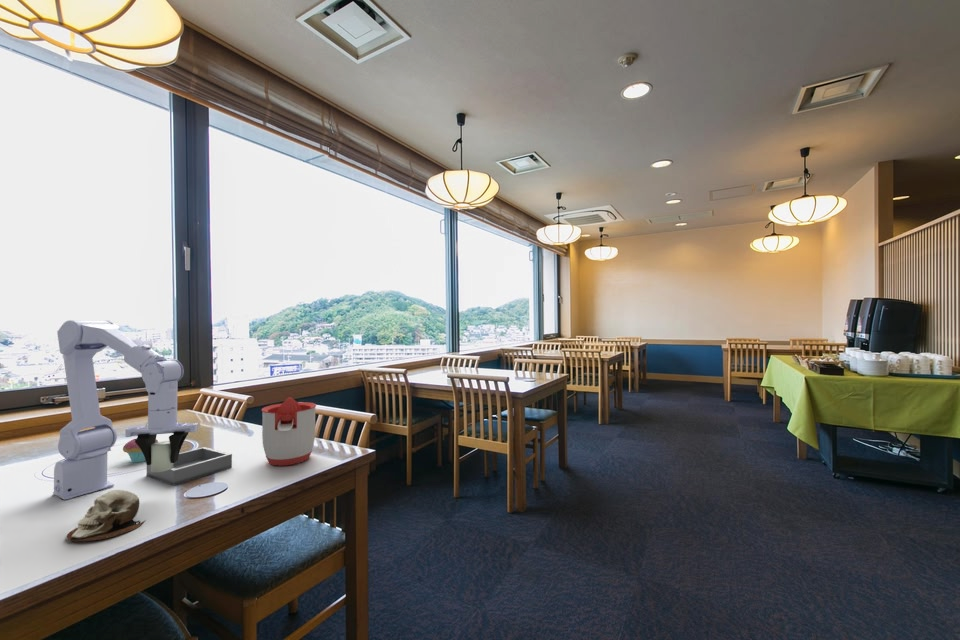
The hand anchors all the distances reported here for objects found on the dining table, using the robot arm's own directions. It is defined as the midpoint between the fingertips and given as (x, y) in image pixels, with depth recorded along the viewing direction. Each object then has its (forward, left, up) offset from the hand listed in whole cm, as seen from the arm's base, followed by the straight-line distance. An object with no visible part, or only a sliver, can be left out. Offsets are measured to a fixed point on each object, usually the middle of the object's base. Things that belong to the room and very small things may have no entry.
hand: (162, 462), depth 98 cm
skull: (-13, -9, -9) cm, 18 cm away
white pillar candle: (0, 0, -2) cm, 2 cm away
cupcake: (+10, +37, -8) cm, 39 cm away
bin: (+12, +12, -8) cm, 19 cm away
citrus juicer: (+31, -6, -8) cm, 33 cm away
